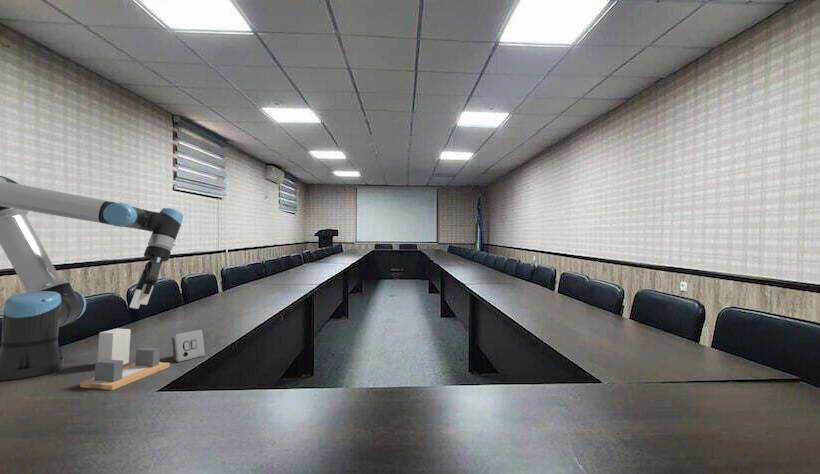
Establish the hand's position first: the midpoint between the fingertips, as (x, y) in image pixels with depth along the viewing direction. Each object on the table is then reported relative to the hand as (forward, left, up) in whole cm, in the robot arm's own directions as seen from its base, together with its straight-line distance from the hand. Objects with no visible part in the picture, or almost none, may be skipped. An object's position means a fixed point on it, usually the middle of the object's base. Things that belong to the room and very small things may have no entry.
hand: (137, 306), depth 118 cm
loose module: (-2, -6, -18) cm, 19 cm away
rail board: (+11, -13, -18) cm, 25 cm away
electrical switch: (+15, +5, -18) cm, 24 cm away
